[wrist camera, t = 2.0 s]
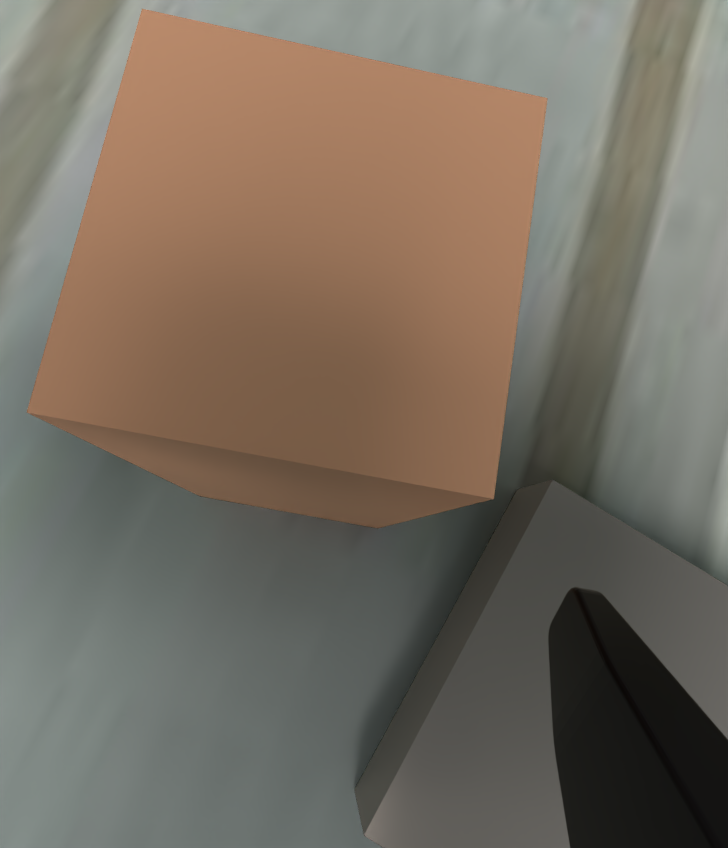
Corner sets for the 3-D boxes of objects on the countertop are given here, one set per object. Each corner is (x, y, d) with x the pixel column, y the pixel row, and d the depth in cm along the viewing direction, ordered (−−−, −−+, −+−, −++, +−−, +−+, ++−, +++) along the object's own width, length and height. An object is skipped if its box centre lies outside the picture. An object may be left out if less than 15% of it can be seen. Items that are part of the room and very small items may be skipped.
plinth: (658, 978, 18) (725, 1060, 15) (354, 789, 18) (364, 835, 16) (792, 655, 20) (874, 674, 17) (517, 489, 21) (553, 479, 18)
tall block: (378, 528, 20) (493, 498, 8) (199, 496, 20) (26, 412, 7) (406, 359, 21) (547, 99, 9) (237, 326, 21) (142, 8, 9)
